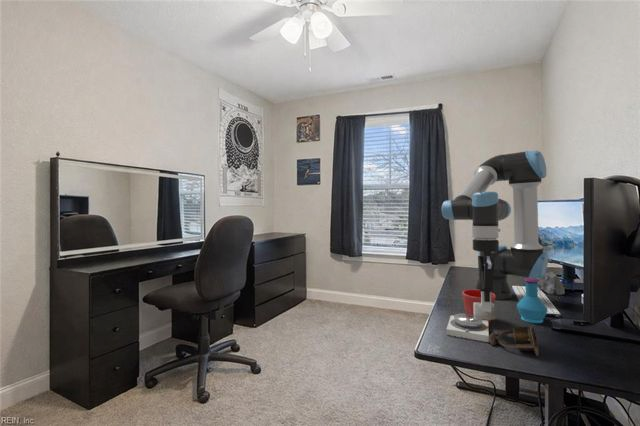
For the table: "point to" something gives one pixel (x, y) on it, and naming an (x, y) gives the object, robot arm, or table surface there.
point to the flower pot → (474, 300)
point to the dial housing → (468, 331)
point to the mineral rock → (551, 284)
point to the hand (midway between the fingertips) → (486, 310)
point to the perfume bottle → (531, 303)
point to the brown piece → (518, 339)
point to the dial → (474, 316)
